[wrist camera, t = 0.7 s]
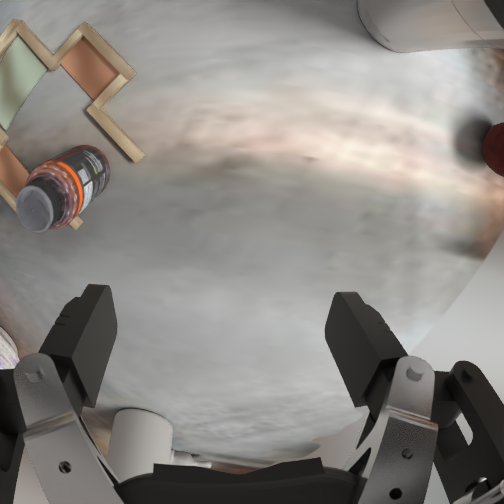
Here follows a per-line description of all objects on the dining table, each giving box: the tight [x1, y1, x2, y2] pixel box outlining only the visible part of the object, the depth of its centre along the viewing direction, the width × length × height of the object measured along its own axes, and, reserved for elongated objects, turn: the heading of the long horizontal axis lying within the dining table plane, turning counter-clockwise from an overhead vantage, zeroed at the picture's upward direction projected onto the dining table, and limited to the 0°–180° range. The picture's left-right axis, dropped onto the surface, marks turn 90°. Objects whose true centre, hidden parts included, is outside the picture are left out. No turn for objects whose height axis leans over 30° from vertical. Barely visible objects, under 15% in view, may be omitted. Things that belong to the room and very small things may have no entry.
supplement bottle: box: [16, 145, 110, 233], centre depth 23 cm, size 6×6×11 cm
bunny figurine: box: [170, 450, 212, 468], centre depth 59 cm, size 10×5×15 cm
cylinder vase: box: [106, 409, 173, 482], centre depth 41 cm, size 12×12×25 cm
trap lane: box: [0, 19, 145, 230], centre depth 23 cm, size 22×25×2 cm
